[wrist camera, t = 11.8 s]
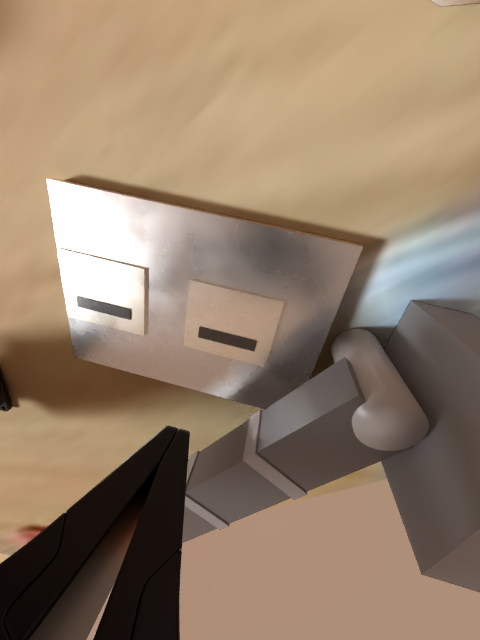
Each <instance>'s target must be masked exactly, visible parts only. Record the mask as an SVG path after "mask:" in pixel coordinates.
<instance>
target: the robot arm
mask: <svg viewBox="0 0 480 640" xmlns="http://www.w3.org/2000/svg"><path fill="white" fill-rule="evenodd" d="M11 408H12V406H11V403H10V400H9V397H8V394H7V391H6V388H5V385H4V382H3V379H2V376H1V373H0V410H2V411H8V410H10V409H11ZM189 437H190V432H189V431H186V430H183V429H179V430H178V428H176V427H172V426H166V427H165V428H163V429H162V430H161V431H160V432H159V433H158V434H156V435H155V436H154V437H153V438H152V439H150V440H149V441H148V442H147V443H146V444H145V445H143V446H142V447H141V448H140V449H139V450H138V451H136V452H135V453H134V454H133V455H132V456H130V457H129V458H128V459H127V460H126V461H125V462H123V463H122V464H121V465H120V466H119V467H118V468H116V469H115V470H114V471H113V472H112V473H110V474H109V475H108V476H107V477H106V478H105V479H103V480H102V481H101V482H100V483H99V484H98V485H96V486H95V487H94V488H93V489H92V490H90V491H89V492H88V493H87V494H86V495H85V496H83V497H82V498H81V499H80V500H79V501H77V502H76V503H75V504H74V505H73V506H72V507H70V508H69V509H68V510H67V512H66V513H63V514H62V515H61V516H60V517H58V518H57V519H56V520H55V521H54V522H53V523H51V524H50V525H49V526H48V527H47V528H45V529H44V530H43V531H42V532H41V533H39V534H38V535H37V536H36V537H34V538H33V539H32V540H31V541H29V542H28V543H27V544H26V545H24V546H23V547H22V548H20V549H19V550H18V551H17V552H15V553H14V554H13V555H11V556H10V557H9V558H7V559H6V560H5V561H3V562H2V563H1V564H0V640H86V639H87V637H88V635H89V633H90V631H91V629H92V627H93V625H94V623H95V621H96V619H97V617H98V615H99V613H100V611H101V609H102V607H103V605H104V603H105V601H106V599H107V597H108V595H109V593H110V591H111V589H112V587H113V589H112V592H111V594H110V597H109V600H108V602H107V605H106V608H105V611H104V613H103V616H102V618H101V621H100V624H99V626H98V629H97V631H96V634H95V637H94V639H93V640H180V631H179V591H180V589H179V588H180V568H181V554H182V552H181V549H182V537H183V523H184V509H185V494H186V480H187V465H188V451H189ZM114 583H115V584H114ZM113 585H114V586H113Z"/></svg>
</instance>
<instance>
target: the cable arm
mask: <svg viewBox="0 0 480 640" xmlns="http://www.w3.org/2000/svg"><path fill="white" fill-rule="evenodd" d="M331 353H332V356H333V360H334V363H335V364H333V365H332V366H330V367H329V368H327V369H326V370H324V371H323V372H321V373H319V374H318V375H316V376H315V377H313V378H312V379H310V380H309V381H307V382H306V383H304V384H303V385H301V386H300V387H298V388H297V389H295V390H294V391H292V392H291V393H289V394H287V395H286V396H284V397H283V398H281V399H280V400H278V401H277V402H275V403H274V404H272V405H271V406H269V407H268V408H266V409H265V410H263V411H262V410H259V411H258V412H256V413H255V414H253V415H251V416H250V419H249V420H248V421H246V422H245V423H243V424H242V425H240V426H239V427H237V428H236V429H234V430H233V431H231V432H230V433H228V434H226V435H225V436H223V437H222V438H220V439H219V440H217V441H216V442H214V443H213V444H211V445H210V446H208V447H207V448H205V449H204V450H202V451H201V452H199V451H197V452H196V453H194V454H193V455H191V456H190V459H188V465H187V480H186V494H185V509H184V523H183V537H182V543H183V542H186V541H188V540H190V539H193V538H195V537H198V536H200V535H203V534H205V533H207V532H210V531H212V530H215V529H217V528H218V529H219V530H221V529H224V528H226V527H229V524H230V523H232V522H234V521H236V520H239V519H241V518H244V517H246V516H249V515H251V514H254V513H256V512H258V511H261V510H263V509H266V508H268V507H270V506H273V505H275V504H278V503H280V502H283V501H285V500H287V499H290V498H292V499H294V500H295V499H298V498H300V497H303V496H305V495H307V491H309V490H312V489H314V488H316V487H319V486H321V485H324V484H326V483H329V482H331V481H333V480H336V479H338V478H341V477H343V476H346V475H348V474H350V473H353V472H355V471H358V470H360V469H362V468H365V467H367V466H370V465H372V464H375V463H377V462H379V461H382V460H384V459H387V458H389V457H392V456H394V455H396V454H399V453H401V452H404V451H406V450H409V449H411V448H413V447H414V446H413V445H415V444H417V443H418V442H419V441H421V440H422V439H423V438H424V436H425V435H426V433H427V431H428V428H429V423H428V419H427V417H426V415H425V414H424V412H423V410H422V409H421V407H420V406H419V404H418V403H417V401H416V399H415V398H414V396H413V395H412V393H411V392H410V390H409V388H408V387H407V385H406V384H405V382H404V381H403V379H402V378H401V376H400V374H399V373H398V371H397V370H396V368H395V367H394V365H393V363H392V362H391V360H390V359H389V357H388V356H387V354H386V353H385V351H384V349H383V348H382V346H381V345H380V343H379V342H378V340H377V338H376V337H375V336H374V335H373V334H372V333H371V332H369V331H367V330H364V329H350V330H346V331H344V332H342V333H340V334H339V335H338V336H337V337H336V338H335V339H334V341H333V342H332V345H331Z"/></svg>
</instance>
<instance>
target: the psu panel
mask: <svg viewBox="0 0 480 640" xmlns="http://www.w3.org/2000/svg"><path fill="white" fill-rule="evenodd" d="M47 185H48V192H49V198H50V205H51V211H52V217H53V224H54V230H55V237H56V243H57V250H58V256H59V262H60V269H61V275H62V282H63V288H64V295H65V301H66V307H67V314H68V320H69V327H70V333H71V340H72V346H73V353H74V357H75V358H79V359H82V360H86V361H90V362H93V363H97V364H101V365H104V366H108V367H112V368H115V369H119V370H123V371H126V372H130V373H134V374H137V375H141V376H145V377H149V378H152V379H156V380H160V381H163V382H167V383H171V384H174V385H178V386H182V387H185V388H189V389H193V390H196V391H200V392H204V393H207V394H211V395H215V396H219V397H222V398H226V399H230V400H233V401H237V402H241V403H244V404H248V405H252V406H255V407H259V408H263V409H266V408H268V407H269V406H271V405H272V404H274V403H275V402H277V401H278V400H280V399H281V398H283V397H284V396H286V395H287V394H289V393H291V392H292V391H294V390H295V389H297V388H298V387H300V386H301V385H303V384H304V383H306V382H307V381H309V380H310V377H311V375H312V372H313V370H314V367H315V365H316V362H317V360H318V357H319V355H320V352H321V350H322V348H323V345H324V343H325V340H326V338H327V335H328V333H329V330H330V328H331V325H332V323H333V320H334V318H335V315H336V313H337V310H338V308H339V306H340V303H341V301H342V298H343V296H344V293H345V291H346V288H347V286H348V283H349V281H350V278H351V276H352V273H353V271H354V268H355V266H356V264H357V261H358V259H359V256H360V254H361V251H362V249H363V247H362V246H361V245H359V244H358V243H353V242H349V241H344V240H339V239H335V238H330V237H325V236H321V235H316V234H311V233H307V232H302V231H297V230H293V229H288V228H284V227H279V226H274V225H270V224H265V223H260V222H256V221H251V220H246V219H242V218H237V217H232V216H228V215H223V214H219V213H214V212H209V211H205V210H200V209H195V208H191V207H186V206H181V205H177V204H172V203H167V202H163V201H158V200H153V199H149V198H144V197H140V196H135V195H130V194H126V193H121V192H116V191H112V190H107V189H102V188H98V187H93V186H88V185H84V184H79V183H75V182H70V181H65V180H57V179H47Z"/></svg>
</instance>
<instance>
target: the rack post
mask: <svg viewBox="0 0 480 640" xmlns="http://www.w3.org/2000/svg"><path fill="white" fill-rule="evenodd" d="M384 351H385V353H386V354H387V356H388V357H389V359H390V360H391V362H392V363H393V365H394V367H395V368H396V370H397V371H398V373H399V374H400V376H401V378H402V379H403V381H404V382H405V384H406V385H407V387H408V388H409V390H410V392H411V393H412V395H413V396H414V398H415V399H416V401H417V403H418V404H419V406H420V407H421V409H422V410H423V412H424V414H425V415H426V417H427V419H428V423H429V428H428V431H427V433H426V435H425V436H424V438H423V439H422V440H421V441H419V442H418V443H417V444H415V445H413V446H414V447H413V448H411V449H409V450H406V451H404V452H401V453H399V454H396V455H394V456H392V457H389V458H387V459H384V460H382V461H381V462H382V465H383V468H384V470H385V473H386V476H387V479H388V482H389V484H390V487H391V490H392V493H393V495H394V498H395V501H396V504H397V507H398V510H399V512H400V515H401V518H402V521H403V524H404V526H405V529H406V532H407V535H408V538H409V541H410V543H411V546H412V549H413V552H414V555H415V557H416V560H417V563H418V566H419V568H420V571H421V574H422V575H425V576H428V577H432V578H435V579H438V580H442V581H445V582H448V583H451V584H454V585H458V586H461V587H464V588H467V589H471V590H474V591H477V592H480V319H479V318H478V317H476V316H474V315H473V314H469V313H465V312H460V311H456V310H451V309H447V308H443V307H438V306H434V305H430V304H425V303H421V302H416V301H412V300H411V301H410V302H409V304H408V306H407V308H406V310H405V312H404V313H403V315H402V317H401V319H400V321H399V323H398V325H397V326H396V328H395V330H394V332H393V334H392V336H391V337H390V339H389V341H388V343H387V345H386V347H385V348H384Z"/></svg>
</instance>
